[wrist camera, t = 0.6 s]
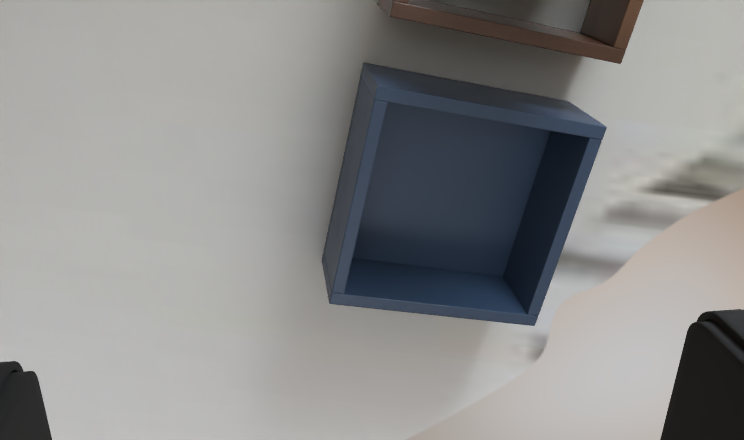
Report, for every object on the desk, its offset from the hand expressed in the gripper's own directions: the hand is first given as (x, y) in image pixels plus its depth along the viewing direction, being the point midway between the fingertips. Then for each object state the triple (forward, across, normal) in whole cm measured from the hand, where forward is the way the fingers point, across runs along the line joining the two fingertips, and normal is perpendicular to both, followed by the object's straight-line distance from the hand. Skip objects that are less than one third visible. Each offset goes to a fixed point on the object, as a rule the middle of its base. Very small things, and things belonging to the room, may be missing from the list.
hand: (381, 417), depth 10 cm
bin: (+33, -10, +10) cm, 36 cm away
